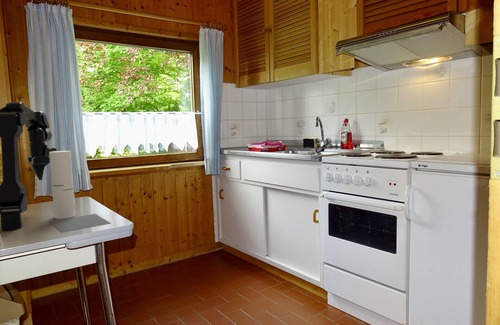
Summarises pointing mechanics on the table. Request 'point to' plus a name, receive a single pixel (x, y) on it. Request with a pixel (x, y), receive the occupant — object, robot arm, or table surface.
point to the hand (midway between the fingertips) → (40, 180)
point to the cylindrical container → (62, 184)
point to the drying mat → (79, 222)
